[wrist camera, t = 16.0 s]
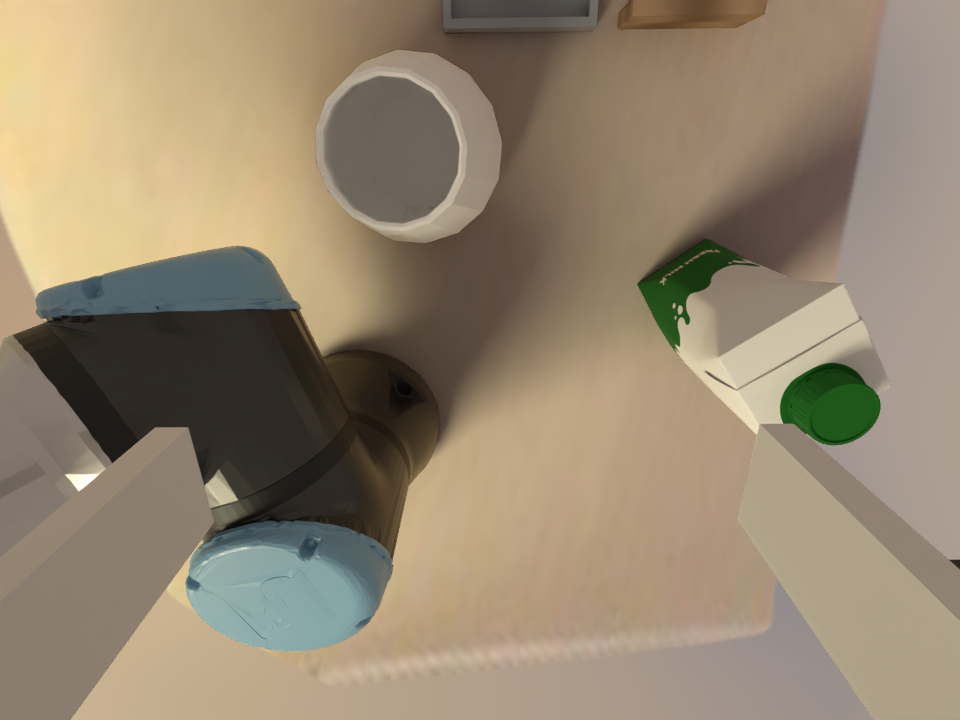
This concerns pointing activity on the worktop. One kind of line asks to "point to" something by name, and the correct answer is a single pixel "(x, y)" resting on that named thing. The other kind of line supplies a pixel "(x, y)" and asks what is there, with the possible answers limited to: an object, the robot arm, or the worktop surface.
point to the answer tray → (519, 16)
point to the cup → (409, 146)
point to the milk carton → (770, 343)
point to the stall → (689, 13)
